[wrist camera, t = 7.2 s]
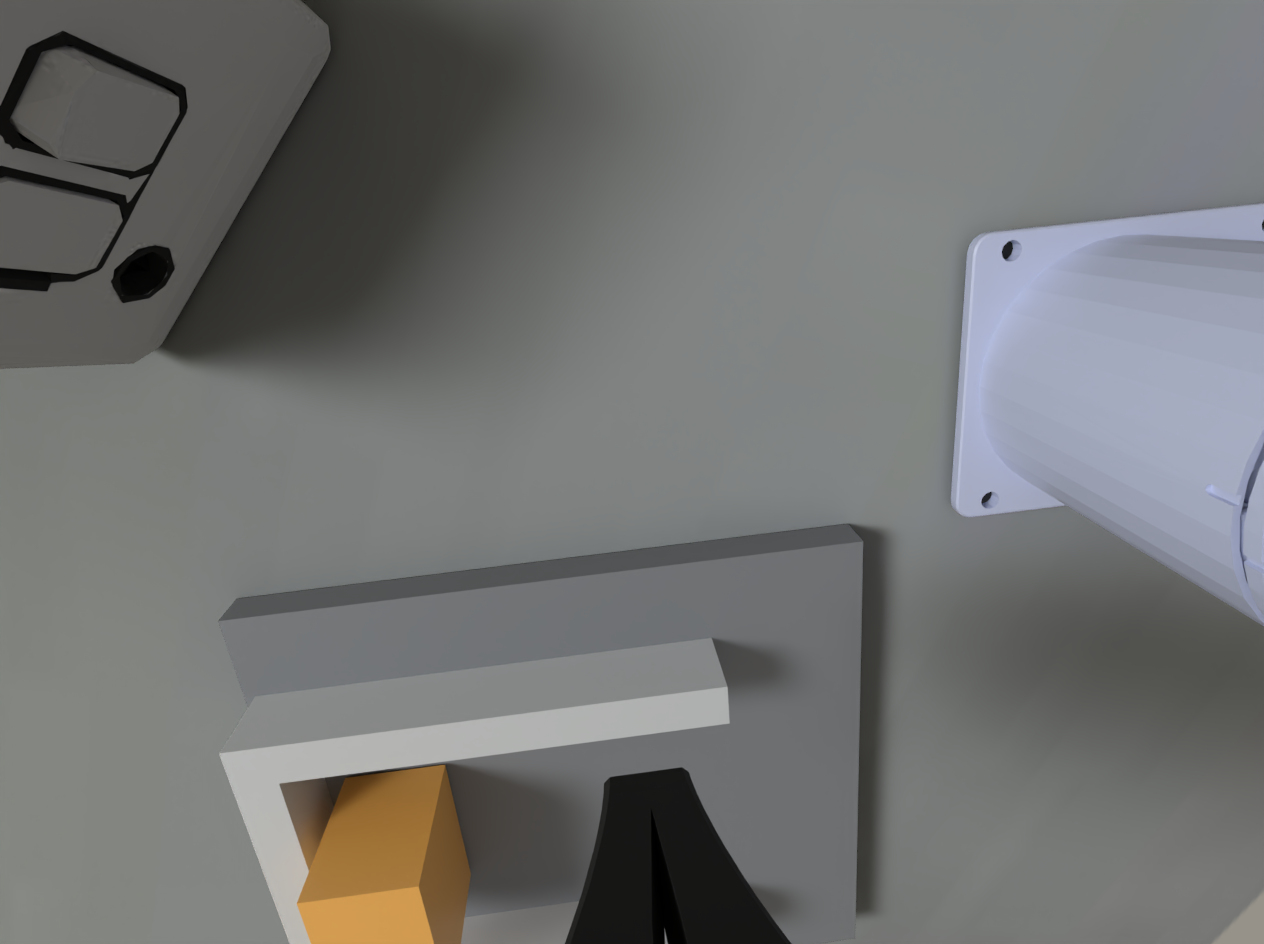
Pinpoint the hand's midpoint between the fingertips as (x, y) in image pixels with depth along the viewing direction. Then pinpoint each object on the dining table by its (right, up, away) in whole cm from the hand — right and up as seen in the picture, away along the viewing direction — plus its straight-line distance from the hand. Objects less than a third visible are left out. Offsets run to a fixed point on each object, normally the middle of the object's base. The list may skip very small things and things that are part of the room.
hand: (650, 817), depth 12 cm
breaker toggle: (-7, -5, +11) cm, 14 cm away
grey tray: (-2, -4, +12) cm, 13 cm away
